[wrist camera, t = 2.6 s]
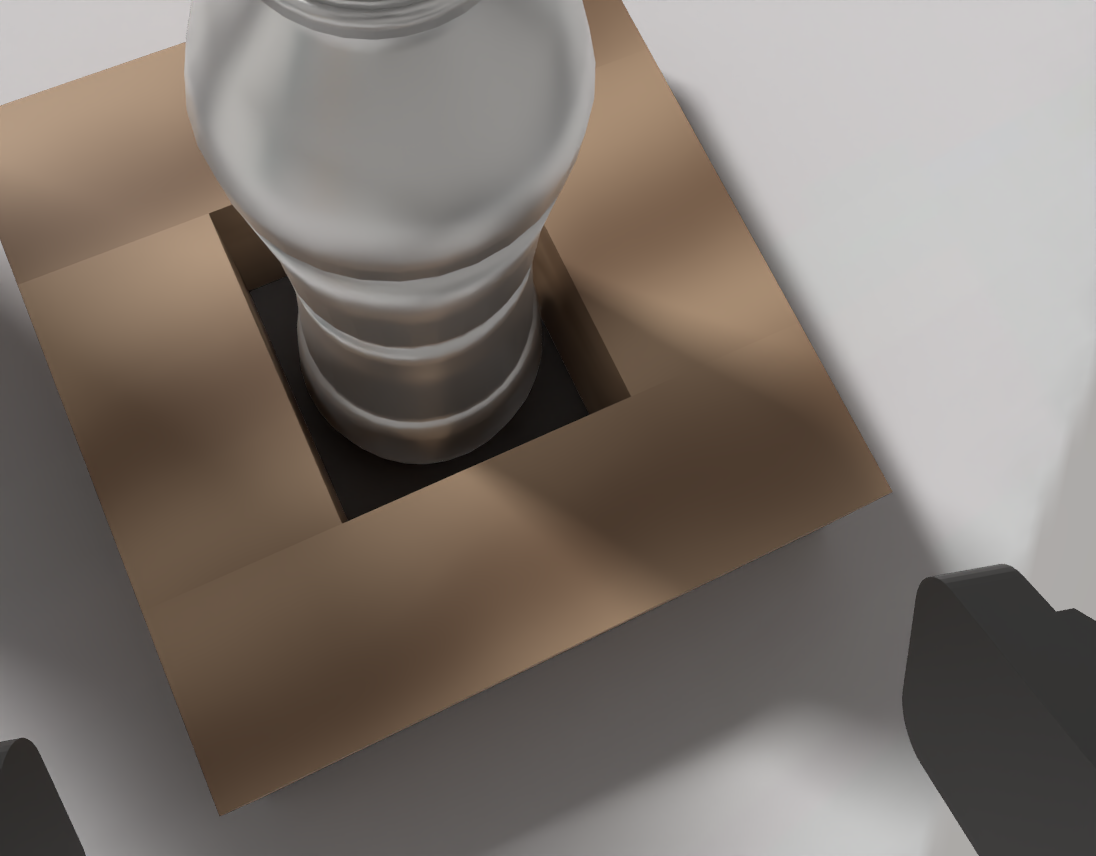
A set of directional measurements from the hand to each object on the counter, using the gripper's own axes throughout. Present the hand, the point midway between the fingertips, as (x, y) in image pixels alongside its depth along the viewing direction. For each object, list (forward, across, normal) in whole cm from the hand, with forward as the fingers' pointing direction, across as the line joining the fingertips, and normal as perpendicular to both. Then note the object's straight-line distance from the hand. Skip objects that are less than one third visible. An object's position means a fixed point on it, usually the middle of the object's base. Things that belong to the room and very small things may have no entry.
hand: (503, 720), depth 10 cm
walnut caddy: (+20, 0, +7) cm, 22 cm away
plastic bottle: (+21, 0, +7) cm, 22 cm away
